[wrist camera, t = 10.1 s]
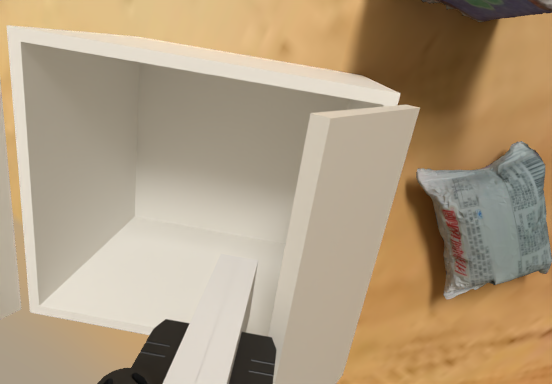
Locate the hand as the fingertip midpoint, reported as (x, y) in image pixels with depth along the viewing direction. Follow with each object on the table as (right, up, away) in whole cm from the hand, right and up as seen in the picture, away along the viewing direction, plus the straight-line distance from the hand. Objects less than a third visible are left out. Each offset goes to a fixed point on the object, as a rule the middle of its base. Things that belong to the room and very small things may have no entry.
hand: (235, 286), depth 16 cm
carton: (-2, +7, +18) cm, 19 cm away
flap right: (+4, 0, +1) cm, 4 cm away
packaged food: (+19, +2, +18) cm, 26 cm away
